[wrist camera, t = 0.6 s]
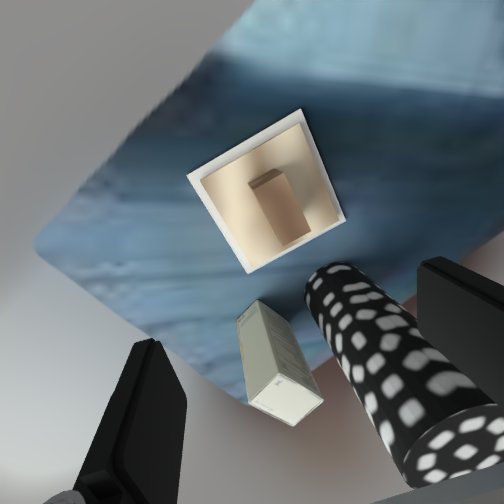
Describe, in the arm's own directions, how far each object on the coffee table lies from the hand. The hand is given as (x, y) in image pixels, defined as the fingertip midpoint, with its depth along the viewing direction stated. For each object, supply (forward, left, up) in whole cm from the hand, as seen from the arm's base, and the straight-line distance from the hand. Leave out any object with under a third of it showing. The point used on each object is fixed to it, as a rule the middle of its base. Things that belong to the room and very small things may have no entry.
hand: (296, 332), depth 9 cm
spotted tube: (-5, +16, -22) cm, 27 cm away
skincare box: (+5, +15, -22) cm, 27 cm away
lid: (-3, +1, -21) cm, 21 cm away
